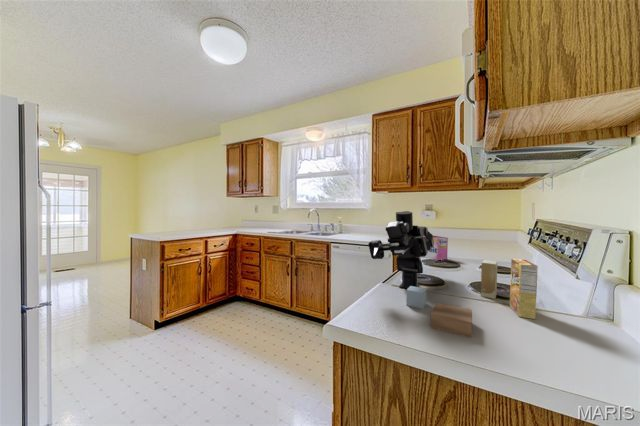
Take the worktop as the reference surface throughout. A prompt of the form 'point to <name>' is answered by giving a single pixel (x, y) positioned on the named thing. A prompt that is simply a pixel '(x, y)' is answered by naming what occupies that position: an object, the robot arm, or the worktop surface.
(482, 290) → the skincare box
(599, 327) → the worktop surface
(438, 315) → the walnut block
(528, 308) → the candy box
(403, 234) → the robot arm
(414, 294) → the slate cube
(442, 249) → the gum box
